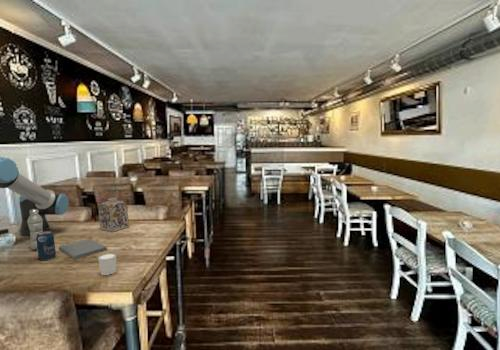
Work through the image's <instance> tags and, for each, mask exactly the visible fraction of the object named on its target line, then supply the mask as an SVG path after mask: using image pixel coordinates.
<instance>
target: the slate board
mask: <svg viewBox="0 0 500 350" xmlns="http://www.w3.org/2000/svg"><path fill="white" fill-rule="evenodd" d="M58 250H59V251H61V252H62V253H64V254H66V255H67V256H68V257H69V258H72V259H74V260H77V259H82V258H84V257H88V256H91V255H94V254H95V255H96V254H99V253H101V252H105V251H108V246H106V245H103V244H101V243H99V242H97V241H95V240H93V239H92V238H88V239H83V240H80V241H76V242H71V243H68V244H64V245H59V246H58Z"/></svg>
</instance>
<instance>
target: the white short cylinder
mask: <svg viewBox="0 0 500 350" xmlns="http://www.w3.org/2000/svg"><path fill="white" fill-rule="evenodd" d="M97 260H98V261H97V262H98V265H99V269H100V271H99V272H100V274H102V276H103V275H109V274H112V275H114V274H113V273H115V272H116V273H117V254H116V253H104V254H101V255H99V256H98V258H97ZM116 273H115V274H116ZM109 276H110V275H109Z"/></svg>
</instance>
